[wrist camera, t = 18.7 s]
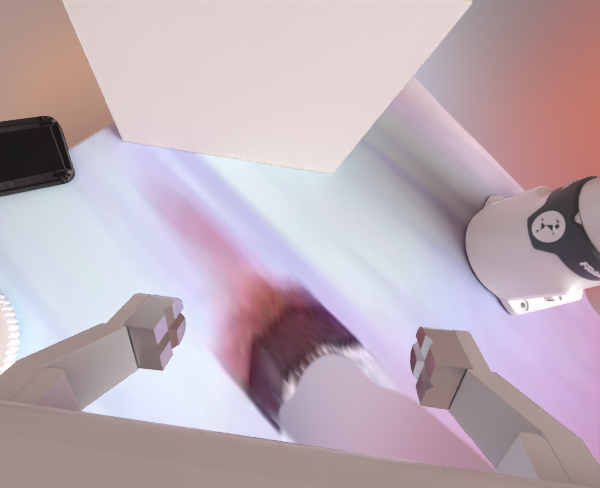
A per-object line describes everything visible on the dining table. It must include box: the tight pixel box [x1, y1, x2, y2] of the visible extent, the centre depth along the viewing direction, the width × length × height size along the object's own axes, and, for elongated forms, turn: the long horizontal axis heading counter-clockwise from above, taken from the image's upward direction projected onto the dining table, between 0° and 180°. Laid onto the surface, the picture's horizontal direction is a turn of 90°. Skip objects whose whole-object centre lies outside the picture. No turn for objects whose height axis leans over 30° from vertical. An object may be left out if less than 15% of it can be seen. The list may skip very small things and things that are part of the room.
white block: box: [62, 0, 472, 174], centre depth 29 cm, size 26×12×24 cm, turn 89°
